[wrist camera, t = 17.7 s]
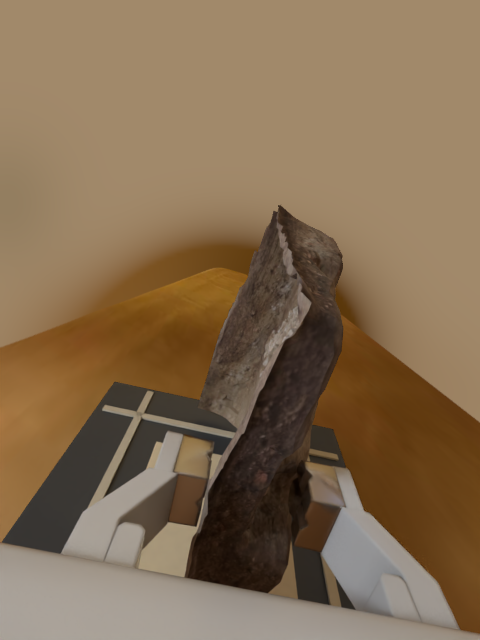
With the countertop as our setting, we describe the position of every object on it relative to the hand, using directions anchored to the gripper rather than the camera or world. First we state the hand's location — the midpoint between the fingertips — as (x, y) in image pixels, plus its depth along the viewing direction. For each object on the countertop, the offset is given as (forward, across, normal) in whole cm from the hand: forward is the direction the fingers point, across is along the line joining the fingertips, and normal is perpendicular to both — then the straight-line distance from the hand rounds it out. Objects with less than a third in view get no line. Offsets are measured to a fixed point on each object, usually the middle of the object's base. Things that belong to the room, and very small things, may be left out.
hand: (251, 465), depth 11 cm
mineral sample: (+6, 0, +8) cm, 10 cm away
